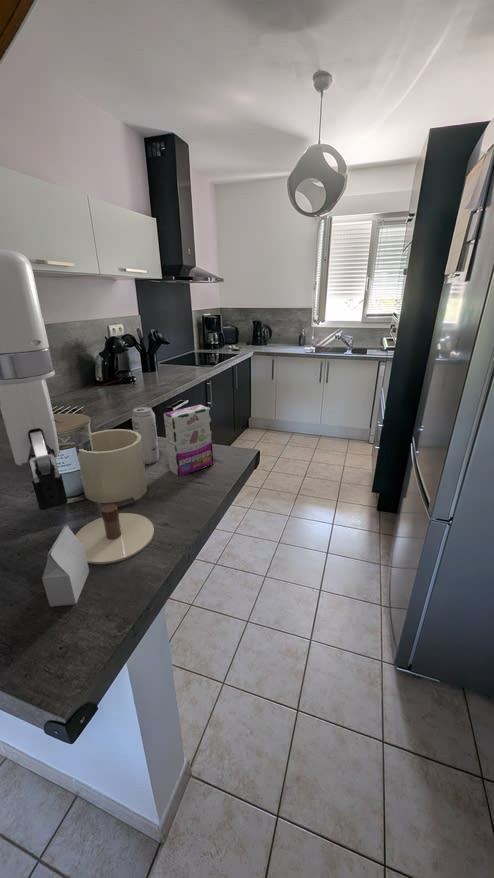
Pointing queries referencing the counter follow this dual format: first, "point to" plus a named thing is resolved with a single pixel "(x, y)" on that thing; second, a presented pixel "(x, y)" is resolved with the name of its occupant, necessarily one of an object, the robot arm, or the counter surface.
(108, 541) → the lid
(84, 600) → the counter surface
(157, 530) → the counter surface
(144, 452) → the energy drink can
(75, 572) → the light grey block
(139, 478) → the canister
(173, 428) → the candy bar box
